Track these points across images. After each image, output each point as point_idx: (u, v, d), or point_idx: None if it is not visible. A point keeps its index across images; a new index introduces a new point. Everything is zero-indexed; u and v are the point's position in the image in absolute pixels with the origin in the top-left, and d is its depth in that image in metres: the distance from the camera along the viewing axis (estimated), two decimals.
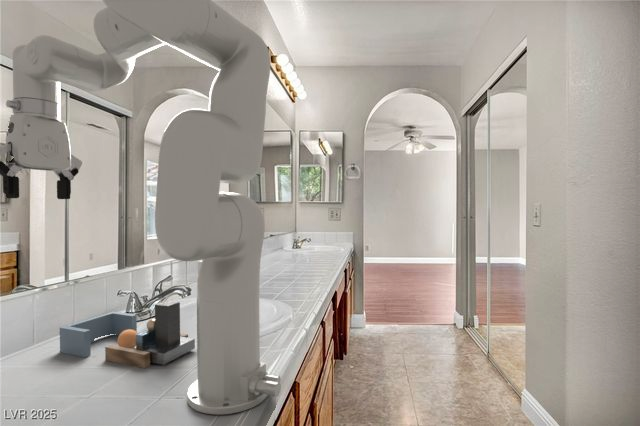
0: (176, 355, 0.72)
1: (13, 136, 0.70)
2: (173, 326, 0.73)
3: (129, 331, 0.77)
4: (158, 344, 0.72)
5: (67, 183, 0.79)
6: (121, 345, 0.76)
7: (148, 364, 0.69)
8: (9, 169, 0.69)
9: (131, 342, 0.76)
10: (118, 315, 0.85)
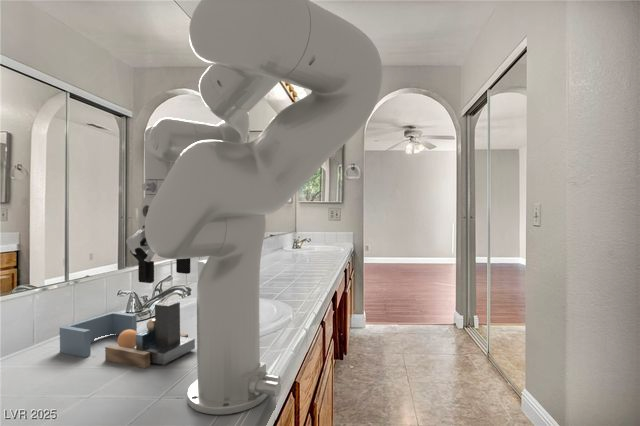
0: (176, 355, 0.72)
1: None
2: (173, 326, 0.73)
3: (129, 331, 0.77)
4: (158, 344, 0.72)
5: (188, 258, 0.77)
6: (121, 345, 0.76)
7: (148, 364, 0.69)
8: (146, 255, 0.68)
9: (131, 342, 0.76)
10: (118, 315, 0.85)
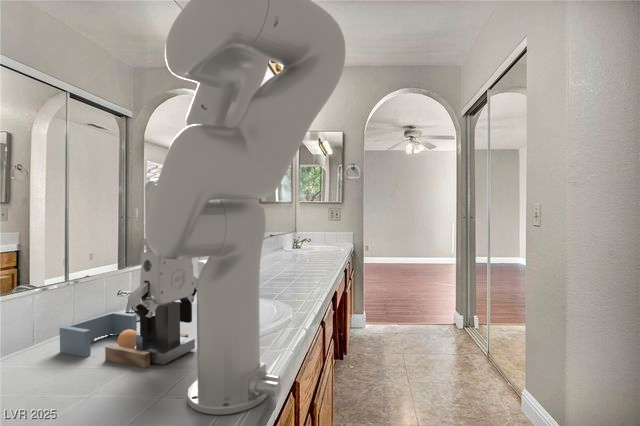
0: (176, 355, 0.72)
1: (151, 275, 0.68)
2: (173, 326, 0.73)
3: (129, 331, 0.77)
4: (158, 344, 0.72)
5: (190, 307, 0.77)
6: (121, 345, 0.76)
7: (148, 364, 0.69)
8: (148, 311, 0.68)
9: (131, 342, 0.76)
10: (118, 315, 0.85)
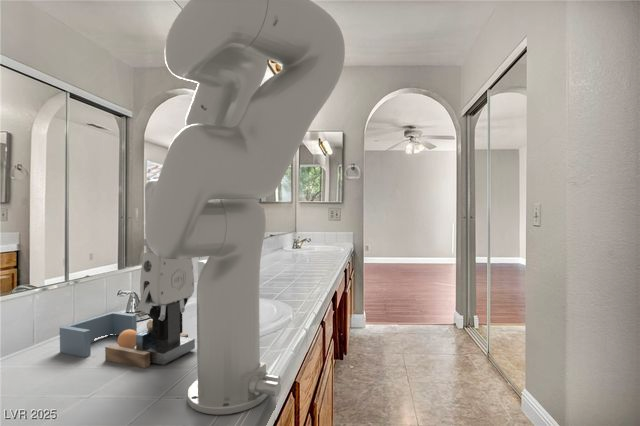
0: (176, 355, 0.72)
1: (151, 276, 0.68)
2: (173, 326, 0.73)
3: (129, 331, 0.77)
4: (158, 344, 0.72)
5: (180, 317, 0.75)
6: (121, 345, 0.76)
7: (148, 364, 0.69)
8: (159, 316, 0.70)
9: (131, 342, 0.76)
10: (118, 315, 0.85)
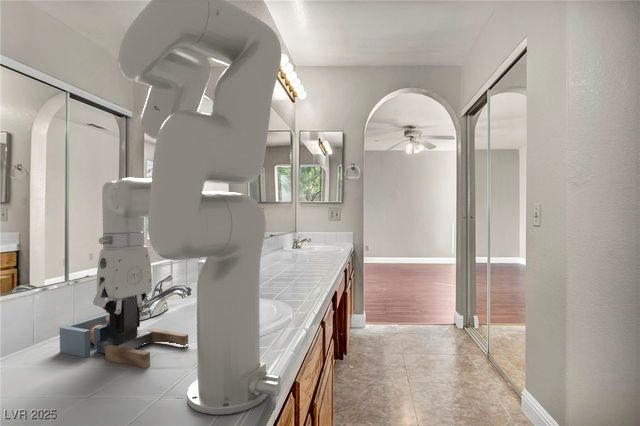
0: (132, 347, 0.76)
1: (106, 272, 0.73)
2: (130, 319, 0.77)
3: None
4: (115, 337, 0.77)
5: (137, 312, 0.79)
6: None
7: (148, 364, 0.69)
8: (115, 310, 0.74)
9: None
10: None
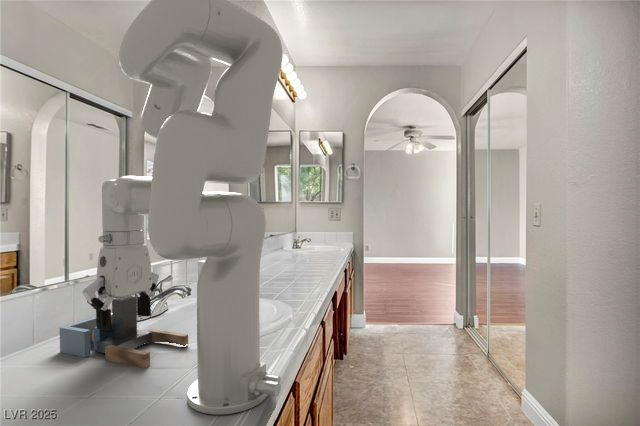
0: (131, 347, 0.76)
1: (106, 270, 0.73)
2: (130, 319, 0.77)
3: None
4: (115, 337, 0.77)
5: (148, 301, 0.81)
6: (92, 335, 0.79)
7: (148, 364, 0.69)
8: (103, 304, 0.72)
9: None
10: None
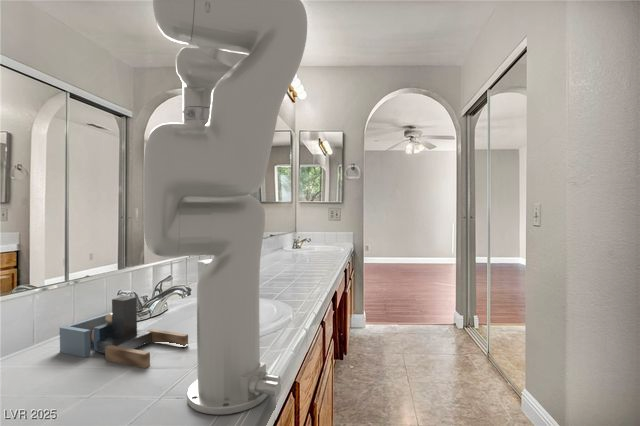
0: (131, 347, 0.76)
1: None
2: (130, 319, 0.77)
3: None
4: (115, 337, 0.77)
5: None
6: (92, 335, 0.79)
7: (148, 364, 0.69)
8: None
9: None
10: None
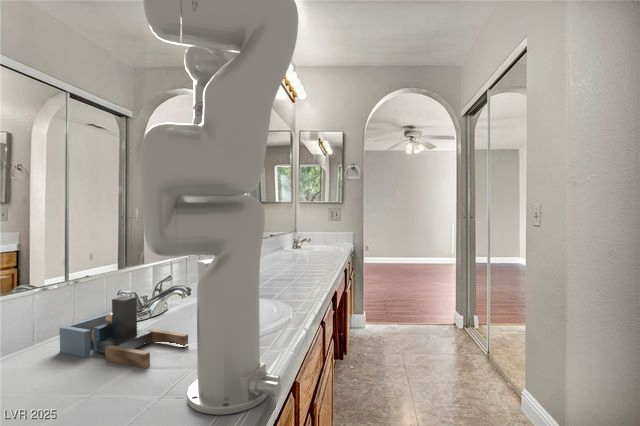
0: (131, 347, 0.76)
1: None
2: (130, 319, 0.77)
3: None
4: (115, 337, 0.77)
5: None
6: (91, 335, 0.79)
7: (148, 364, 0.69)
8: None
9: None
10: None
